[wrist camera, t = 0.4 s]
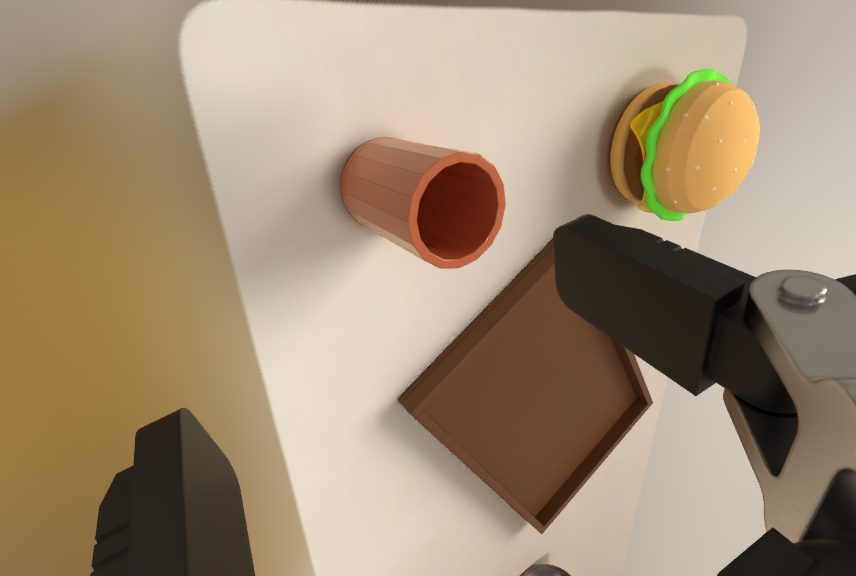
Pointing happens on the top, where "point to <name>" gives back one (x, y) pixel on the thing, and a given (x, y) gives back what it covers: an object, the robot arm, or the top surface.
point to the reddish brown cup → (425, 199)
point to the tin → (545, 571)
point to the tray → (531, 396)
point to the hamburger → (685, 145)
